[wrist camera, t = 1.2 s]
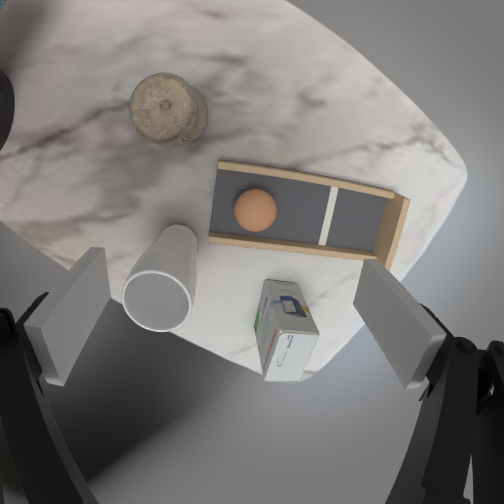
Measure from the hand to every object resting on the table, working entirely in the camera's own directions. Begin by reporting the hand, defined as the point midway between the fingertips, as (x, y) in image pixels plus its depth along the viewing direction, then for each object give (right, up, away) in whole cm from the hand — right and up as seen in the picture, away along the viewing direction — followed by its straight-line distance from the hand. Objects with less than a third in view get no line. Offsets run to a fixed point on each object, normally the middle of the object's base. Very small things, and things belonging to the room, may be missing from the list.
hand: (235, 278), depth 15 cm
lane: (+8, +7, +25) cm, 27 cm away
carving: (-8, +18, +19) cm, 27 cm away
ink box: (+4, -7, +30) cm, 31 cm away
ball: (+1, +7, +23) cm, 24 cm away
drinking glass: (-9, +3, +25) cm, 27 cm away
